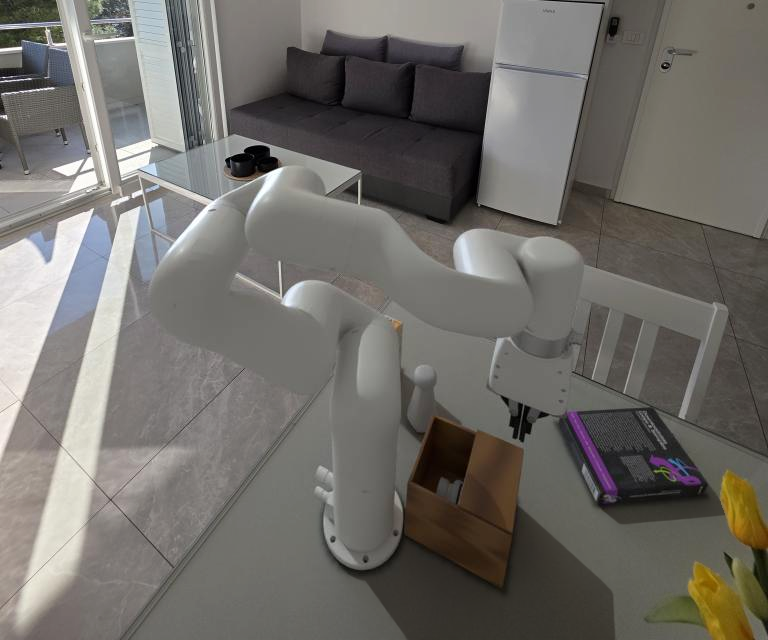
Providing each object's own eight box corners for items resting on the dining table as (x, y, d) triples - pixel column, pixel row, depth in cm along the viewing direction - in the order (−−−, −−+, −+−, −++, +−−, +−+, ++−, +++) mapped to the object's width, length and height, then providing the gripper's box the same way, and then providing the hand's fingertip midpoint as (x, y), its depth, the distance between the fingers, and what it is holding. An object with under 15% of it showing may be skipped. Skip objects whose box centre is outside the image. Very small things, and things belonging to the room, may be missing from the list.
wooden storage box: (514, 501, 71) (523, 452, 67) (502, 589, 60) (512, 536, 57) (428, 460, 77) (432, 413, 73) (403, 534, 66) (407, 483, 63)
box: (595, 507, 71) (706, 497, 72) (599, 493, 70) (711, 483, 71) (557, 424, 84) (651, 417, 85) (559, 411, 83) (655, 404, 84)
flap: (523, 450, 67) (523, 448, 67) (512, 533, 57) (512, 531, 57) (477, 430, 70) (477, 429, 70) (458, 506, 60) (458, 504, 59)
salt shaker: (403, 431, 81) (406, 379, 77) (411, 405, 87) (414, 355, 82) (433, 442, 80) (437, 389, 76) (439, 414, 85) (444, 363, 81)
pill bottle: (496, 535, 67) (437, 505, 71) (503, 495, 68) (444, 467, 72) (493, 551, 62) (430, 517, 66) (500, 507, 64) (438, 477, 68)
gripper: (600, 329, 56) (575, 430, 62) (486, 294, 62) (473, 390, 67) (602, 373, 50) (574, 482, 55) (474, 329, 55) (461, 432, 61)
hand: (519, 431), depth 61 cm, fingers closed
